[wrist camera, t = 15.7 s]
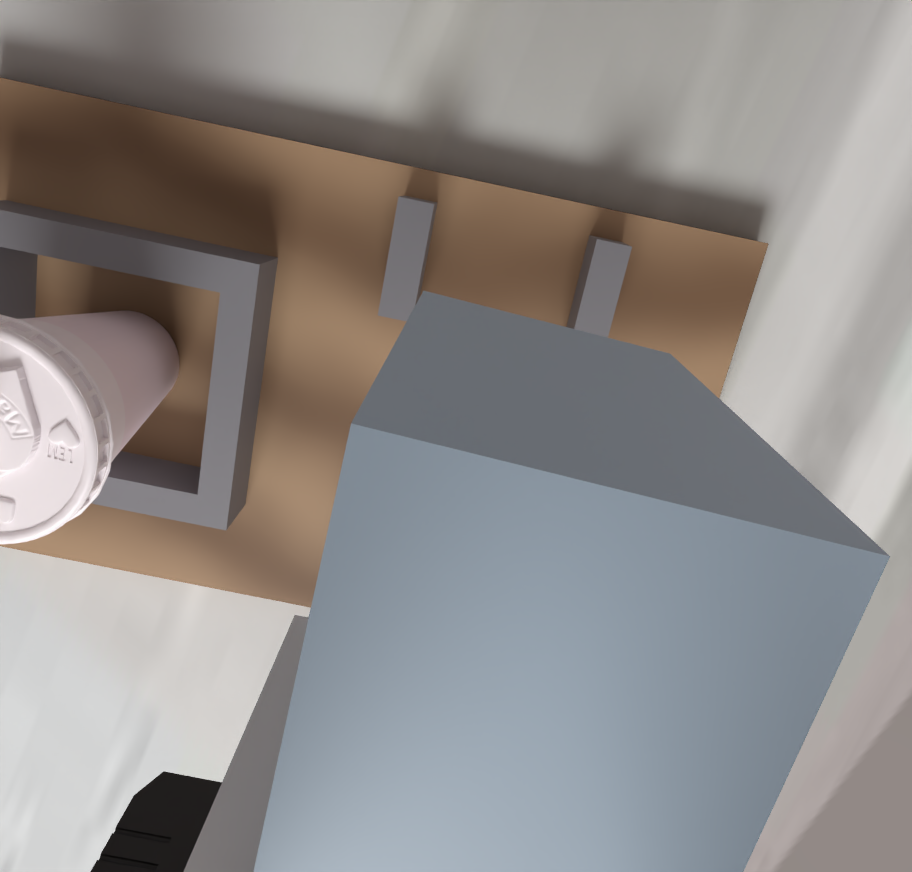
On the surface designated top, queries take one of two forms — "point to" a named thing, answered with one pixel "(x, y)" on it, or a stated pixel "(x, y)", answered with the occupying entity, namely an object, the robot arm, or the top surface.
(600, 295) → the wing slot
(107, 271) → the jig board
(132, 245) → the frame
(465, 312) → the light blue rectangular block
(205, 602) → the top surface
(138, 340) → the smoothie
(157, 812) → the robot arm
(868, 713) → the top surface
